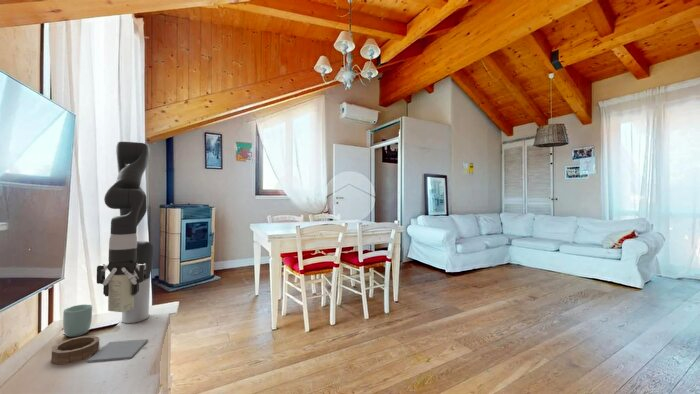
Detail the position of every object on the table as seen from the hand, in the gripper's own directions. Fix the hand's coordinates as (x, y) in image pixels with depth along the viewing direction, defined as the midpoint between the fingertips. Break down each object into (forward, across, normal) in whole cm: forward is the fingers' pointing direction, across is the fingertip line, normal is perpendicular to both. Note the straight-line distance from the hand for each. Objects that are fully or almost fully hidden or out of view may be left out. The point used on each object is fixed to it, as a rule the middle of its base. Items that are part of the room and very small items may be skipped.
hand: (121, 295), depth 98 cm
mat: (+19, 0, 0) cm, 19 cm away
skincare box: (+5, 0, 0) cm, 5 cm away
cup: (+19, -22, +16) cm, 33 cm away
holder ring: (+19, -12, 0) cm, 23 cm away
